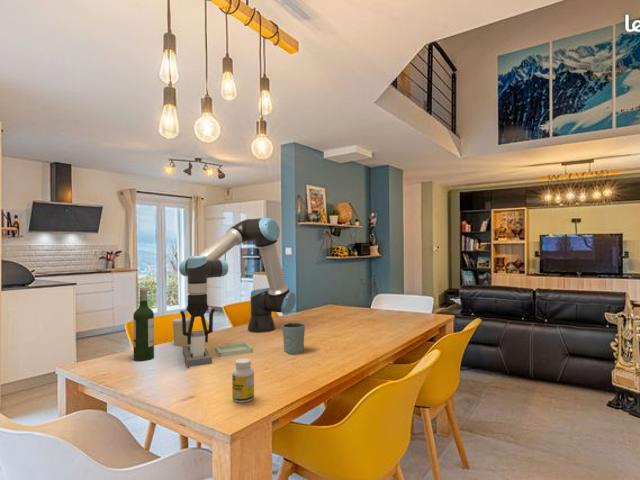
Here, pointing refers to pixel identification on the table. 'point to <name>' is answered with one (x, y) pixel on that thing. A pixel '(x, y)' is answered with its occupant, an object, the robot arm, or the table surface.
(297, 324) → the grey-green cup
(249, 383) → the pill bottle
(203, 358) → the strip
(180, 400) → the table surface
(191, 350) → the robot arm
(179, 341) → the coffee cup
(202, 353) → the plug
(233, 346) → the tray
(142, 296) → the wine bottle
